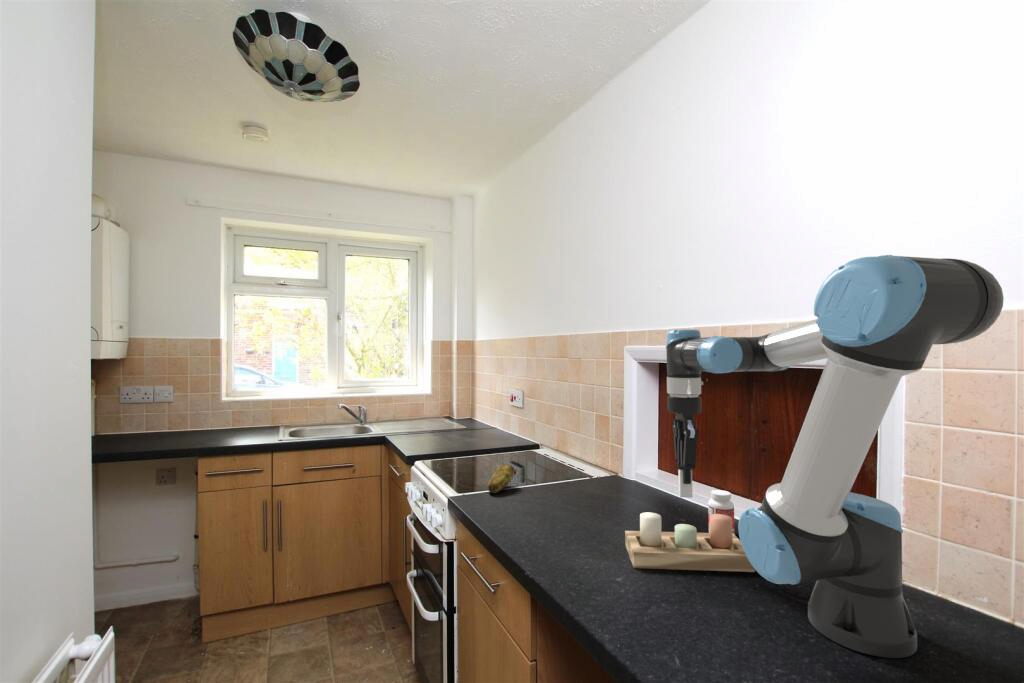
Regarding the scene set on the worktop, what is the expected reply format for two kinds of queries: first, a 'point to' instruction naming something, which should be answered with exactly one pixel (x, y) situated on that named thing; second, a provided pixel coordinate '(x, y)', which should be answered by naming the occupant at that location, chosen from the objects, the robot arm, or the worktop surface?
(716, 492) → the pill bottle
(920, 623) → the worktop surface
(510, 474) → the potato
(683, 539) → the button green
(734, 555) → the board
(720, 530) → the button terracotta
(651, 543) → the button cream
